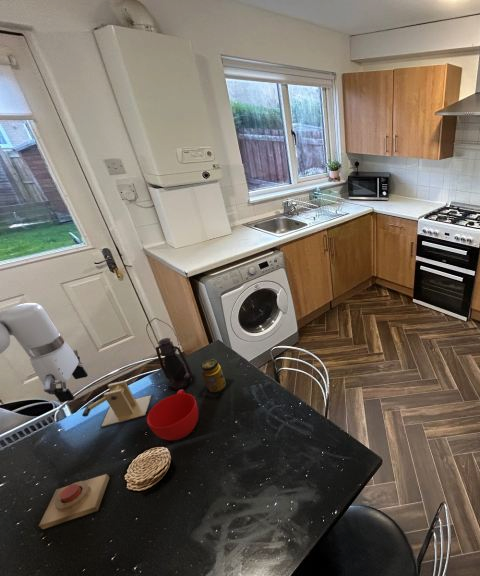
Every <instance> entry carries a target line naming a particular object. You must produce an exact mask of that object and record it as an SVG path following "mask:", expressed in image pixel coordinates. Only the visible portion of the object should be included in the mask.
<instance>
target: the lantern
mask: <svg viewBox="0 0 480 576" xmlns="http://www.w3.org/2000/svg"><path fill="white" fill-rule="evenodd" d="M155 319H156V320H158V321H159V322H162V323H164V324H166V325H167V326H169V324H168V323H167V322H164V321H163V320H162V319H158V318H157V317H153V318H152V319H151V320H150V321H149V322H148V323H147V324H146V328H145V329H146V330H145V331H146V334H147V336H148V339H149V340H150V343H151V344H152V347H154V350H155V352H156V356H157V359H158V362H159V365H160V368H161V370H162V372H163V374H164V377H165V378H166V379H167V380H169V388H172V389H174V390H180V389H183V388H185V387H187V386H188V385H189V384H191V383H192V381H193V380H192V379H194V375H193V373H192V370H191V368H190V365H189V363H188V361H187V359H186V358H185V356H184V354H183V352H182V350H181V348H180V347H181V346H180V343H179V338H178V336H177V335H176V332H175V331H174V328H173V327H171V326H170V328H171V330H172V331H173V334H174V335H175V337H176V341H177V345H178V346H176V345H174V343H173V341H172V340H171V338H169V337H165V338H162V339H160V340H159V341H158V343H157V344H158V345H159V346H156V347H155V345H154V343H153V341H152V339H151V337H150V335H149V331H148V325H150V323H152V322H153V321H154V320H155ZM162 357H164V362H163V358H162Z"/></svg>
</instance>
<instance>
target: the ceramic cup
mask: <svg viewBox="0 0 480 576" xmlns="http://www.w3.org/2000/svg"><path fill="white" fill-rule="evenodd" d="M198 420H199V407H198V403H197V400H196V398H195V397H194V396H193V395H192V394H191V393H186V392H185V390H184V389H178V391H177V392H176V394H172V395H170V396H167V397H165V398H163V399H161V400H160V401H158V402H157V403H156V404H154V406H153V407H151V409H150V410H149V411H148V414H147V416H146V423H147V425H148V427H149V429H150V430H151V431H152V432H153V434H155V435H156V436H157V437H158V438H160V439H162V440H166V441H178V440H181V439H184V438H186V437H187V436H188V435H190V434H191V433H192V432H193V430H194V429H195V427H196V426H197V423H198Z"/></svg>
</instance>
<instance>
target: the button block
mask: <svg viewBox="0 0 480 576" xmlns="http://www.w3.org/2000/svg"><path fill="white" fill-rule="evenodd" d="M109 480H110V476H109V475H108V474H107V473H105V474H101V475H99V476H95V477H92V478H89V479H85V480H80V481H77V482H73V483H72V484H77V485H78V486H79V487H80V488H81V490H82V491H81V493H80V495H79V496H78V497H77V498H76V499H74V500H72V501H71V502H67V503H65V502H63V501H62V500H61V499H60V494H61V492H62V491H63V490H64V489H65V488H66V487H68V486H70V485H72V484H69V485H66V486H64V487H61V488H57V489H55V491H54V493H53V495H52V498H51V499H50V502H49V503H48V505H47V508H46V510H45V512H44V514H43V516H42V518H41V519H40V522H39V524H38V527H39V528H40V529H41V530H45V529H49V528H52V527H54V526H57V525H60V524H63V523H66V522H69V521H72V520H74V519H78V518H81V517H84V516H86V515H90V514H92V513H95V512H98V511H99V509H100V506H101V503H102V501H103V497H104V495H105V491H106V489H107V486H108V484H109Z"/></svg>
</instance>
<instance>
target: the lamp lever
mask: <svg viewBox="0 0 480 576" xmlns="http://www.w3.org/2000/svg"><path fill="white" fill-rule="evenodd" d="M119 389H121V390H122V391H123V392H124V388H123V387H121V386H119V385H118V386H116V387H114V388H113V389H111V390H110V389H109V392H111V391H115V390H119ZM104 402H107V400H106V398H105V397H104V396H103V397H102V398H99V399H98V400H96V401H95V402H94V401H89V402H87V405H86V407H85V409H84V410H83V412H82V417H83V418H84V417H85V418H86V417H88V416H89V414H90V412H91V411H92V410H93V409H95V408H96V407H98V406H100V405H101V404H103V403H104Z"/></svg>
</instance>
